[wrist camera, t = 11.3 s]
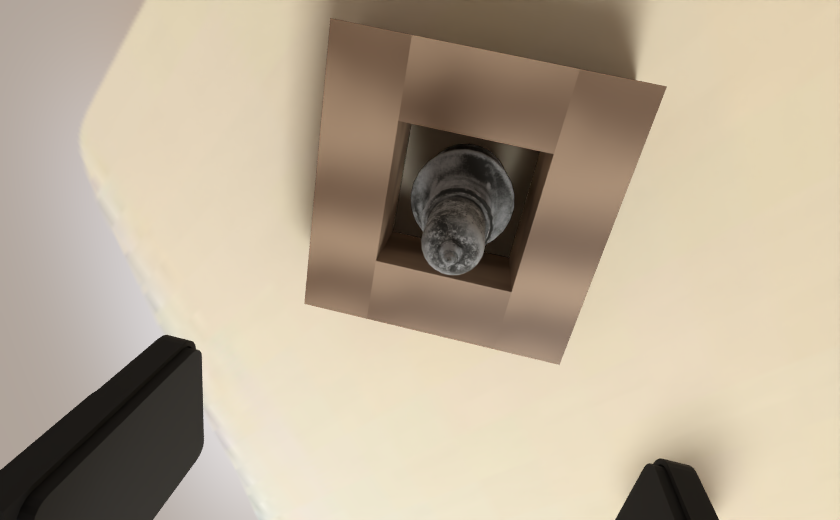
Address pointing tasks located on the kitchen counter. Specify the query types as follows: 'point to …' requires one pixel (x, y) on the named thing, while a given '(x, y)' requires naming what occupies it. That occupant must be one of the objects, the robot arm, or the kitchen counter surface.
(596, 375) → the kitchen counter surface
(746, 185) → the kitchen counter surface
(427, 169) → the dark stone chess piece
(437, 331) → the well block
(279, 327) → the kitchen counter surface
